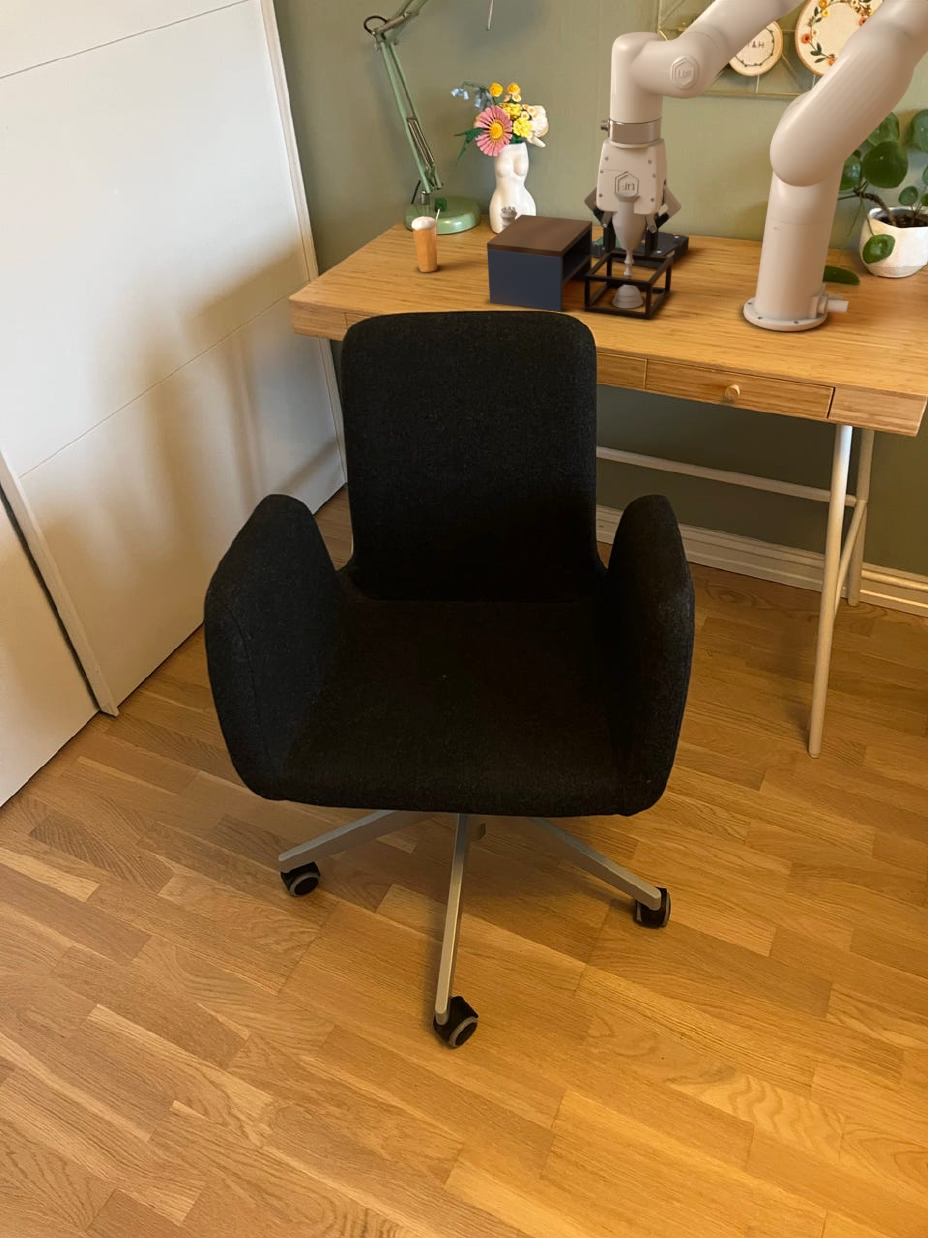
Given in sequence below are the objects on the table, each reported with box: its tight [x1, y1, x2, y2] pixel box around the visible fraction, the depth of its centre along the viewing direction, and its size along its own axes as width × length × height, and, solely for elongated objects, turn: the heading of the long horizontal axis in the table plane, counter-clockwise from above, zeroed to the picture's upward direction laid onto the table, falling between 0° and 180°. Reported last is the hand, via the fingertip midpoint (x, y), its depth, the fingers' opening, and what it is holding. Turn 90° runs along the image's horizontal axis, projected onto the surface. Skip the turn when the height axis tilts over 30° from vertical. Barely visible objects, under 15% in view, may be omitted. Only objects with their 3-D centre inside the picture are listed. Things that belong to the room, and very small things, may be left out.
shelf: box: [486, 214, 593, 313], centre depth 162 cm, size 13×14×10 cm
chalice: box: [611, 194, 648, 309], centre depth 154 cm, size 7×7×18 cm
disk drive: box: [592, 229, 690, 269], centre depth 174 cm, size 10×3×15 cm
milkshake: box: [411, 209, 441, 273], centre depth 173 cm, size 4×5×10 cm
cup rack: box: [583, 251, 674, 320], centre depth 157 cm, size 11×11×6 cm
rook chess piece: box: [499, 205, 518, 231], centre depth 177 cm, size 4×4×8 cm
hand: (629, 251), depth 154 cm, fingers closed on chalice, 5 cm apart
